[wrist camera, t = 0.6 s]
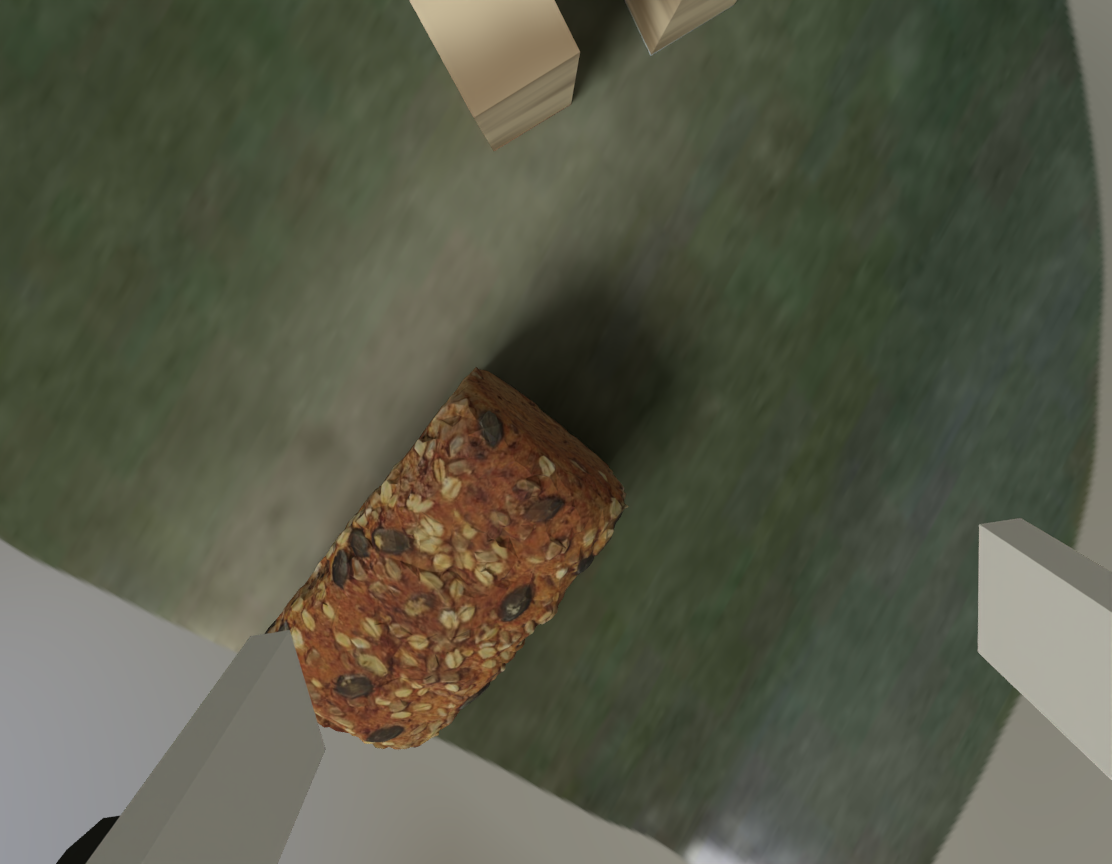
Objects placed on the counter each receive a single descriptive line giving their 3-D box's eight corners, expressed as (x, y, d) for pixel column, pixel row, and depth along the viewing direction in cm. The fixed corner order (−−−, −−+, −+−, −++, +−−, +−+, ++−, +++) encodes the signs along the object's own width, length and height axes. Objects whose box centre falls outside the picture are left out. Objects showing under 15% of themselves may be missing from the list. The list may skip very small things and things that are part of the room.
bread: (480, 351, 38) (457, 388, 29) (625, 468, 40) (650, 539, 30) (290, 589, 42) (213, 693, 32) (432, 685, 44) (399, 811, 34)
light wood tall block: (447, 66, 34) (408, -2, 25) (526, 16, 34) (517, -74, 24) (493, 151, 35) (473, 117, 26) (570, 104, 35) (580, 51, 25)
